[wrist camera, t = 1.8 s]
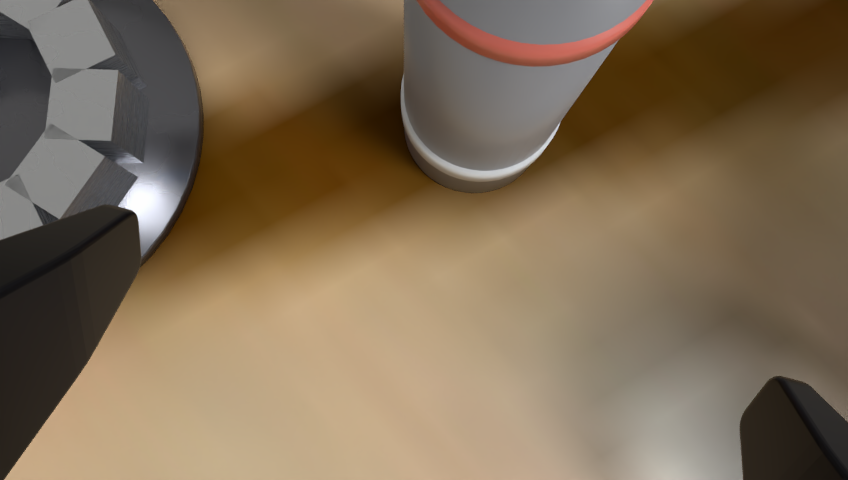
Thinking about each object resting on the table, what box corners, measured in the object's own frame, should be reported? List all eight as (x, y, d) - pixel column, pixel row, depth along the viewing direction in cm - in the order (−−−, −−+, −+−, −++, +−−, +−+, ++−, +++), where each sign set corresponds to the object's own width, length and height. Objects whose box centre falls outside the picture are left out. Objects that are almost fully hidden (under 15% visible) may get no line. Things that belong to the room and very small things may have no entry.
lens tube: (570, 104, 23) (769, -183, 11) (498, 222, 23) (622, 67, 10) (448, 33, 24) (500, -330, 11) (373, 147, 23) (336, -97, 10)
